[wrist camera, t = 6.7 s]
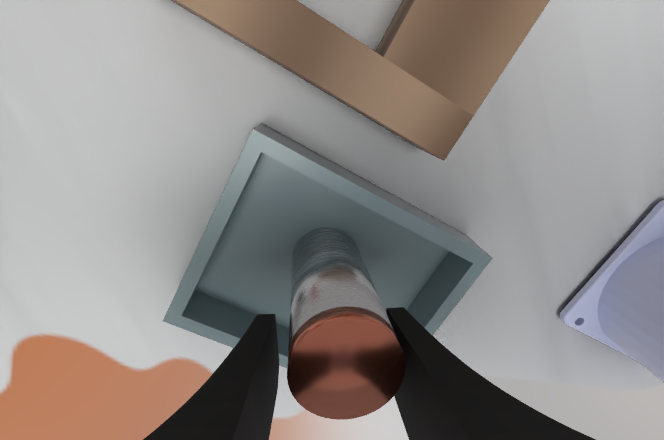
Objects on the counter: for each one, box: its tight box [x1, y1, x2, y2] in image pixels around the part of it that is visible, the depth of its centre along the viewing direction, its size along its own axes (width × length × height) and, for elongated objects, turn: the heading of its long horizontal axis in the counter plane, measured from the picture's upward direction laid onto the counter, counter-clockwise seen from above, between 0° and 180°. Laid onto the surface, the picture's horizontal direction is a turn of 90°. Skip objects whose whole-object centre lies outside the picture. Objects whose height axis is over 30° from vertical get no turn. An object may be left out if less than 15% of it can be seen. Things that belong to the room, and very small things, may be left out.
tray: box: [163, 123, 492, 368], centre depth 16 cm, size 11×9×2 cm
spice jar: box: [287, 227, 406, 419], centre depth 13 cm, size 3×3×8 cm
